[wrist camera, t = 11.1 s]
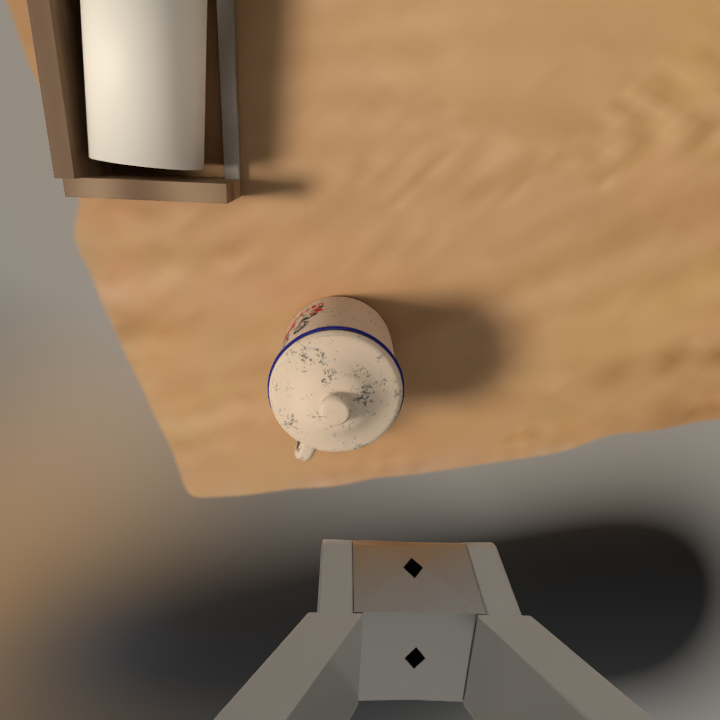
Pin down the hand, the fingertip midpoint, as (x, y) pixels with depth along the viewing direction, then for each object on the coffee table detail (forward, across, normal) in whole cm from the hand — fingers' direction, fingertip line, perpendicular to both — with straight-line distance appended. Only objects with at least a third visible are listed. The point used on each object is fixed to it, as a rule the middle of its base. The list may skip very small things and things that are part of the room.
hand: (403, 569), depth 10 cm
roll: (+31, +14, -11) cm, 35 cm away
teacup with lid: (+34, +2, +10) cm, 36 cm away
